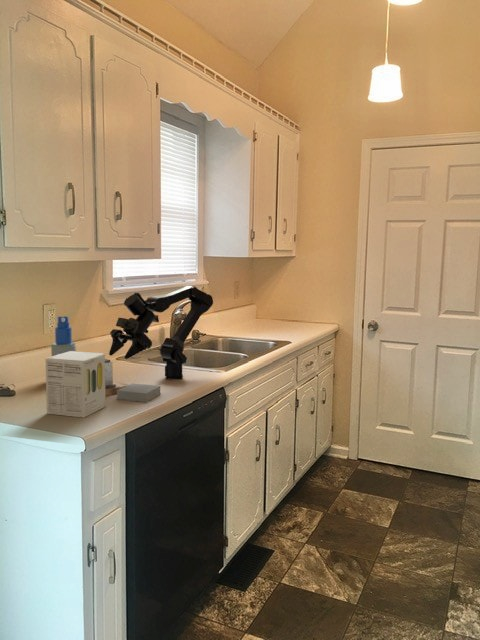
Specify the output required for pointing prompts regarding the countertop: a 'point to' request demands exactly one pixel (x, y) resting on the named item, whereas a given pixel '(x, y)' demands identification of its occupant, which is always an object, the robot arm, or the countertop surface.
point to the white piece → (108, 372)
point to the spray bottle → (62, 337)
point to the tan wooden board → (114, 388)
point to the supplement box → (75, 383)
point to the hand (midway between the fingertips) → (117, 356)
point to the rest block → (138, 392)
